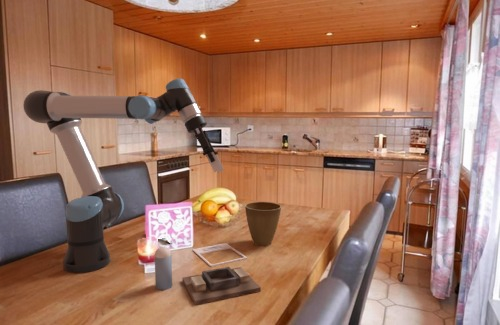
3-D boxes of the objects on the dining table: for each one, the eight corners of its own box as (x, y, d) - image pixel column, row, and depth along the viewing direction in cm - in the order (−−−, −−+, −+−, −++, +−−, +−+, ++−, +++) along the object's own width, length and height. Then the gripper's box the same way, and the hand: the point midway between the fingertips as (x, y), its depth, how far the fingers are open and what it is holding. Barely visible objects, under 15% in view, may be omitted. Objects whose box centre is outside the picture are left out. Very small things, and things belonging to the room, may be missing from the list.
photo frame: (226, 242, 148) (247, 257, 132) (226, 245, 148) (247, 259, 132) (192, 248, 140) (210, 265, 125) (192, 251, 141) (210, 268, 125)
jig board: (195, 304, 99) (195, 292, 99) (182, 281, 114) (182, 270, 113) (260, 291, 107) (260, 279, 107) (240, 270, 122) (240, 260, 121)
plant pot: (259, 252, 139) (259, 211, 137) (238, 241, 151) (238, 204, 149) (288, 244, 148) (288, 206, 146) (265, 234, 160) (265, 199, 158)
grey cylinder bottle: (157, 291, 107) (155, 251, 106) (154, 284, 112) (153, 245, 110) (173, 288, 109) (172, 248, 108) (170, 281, 114) (169, 243, 112)
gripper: (197, 107, 118) (226, 164, 117) (206, 119, 143) (230, 166, 142) (177, 118, 118) (206, 175, 117) (189, 128, 143) (213, 175, 142)
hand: (219, 170), depth 130 cm, fingers open, 13 cm apart
